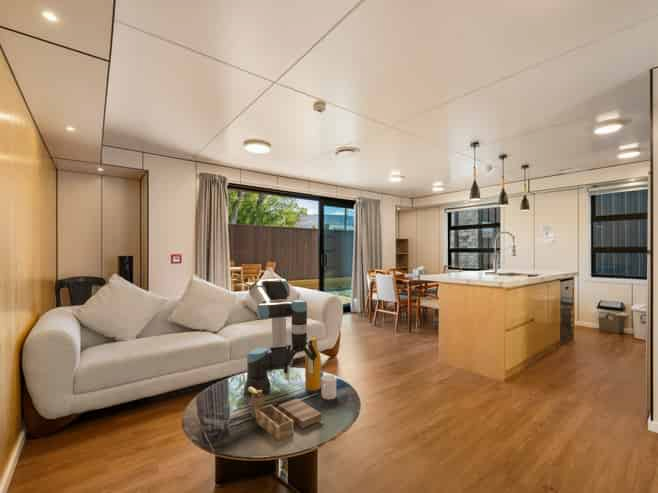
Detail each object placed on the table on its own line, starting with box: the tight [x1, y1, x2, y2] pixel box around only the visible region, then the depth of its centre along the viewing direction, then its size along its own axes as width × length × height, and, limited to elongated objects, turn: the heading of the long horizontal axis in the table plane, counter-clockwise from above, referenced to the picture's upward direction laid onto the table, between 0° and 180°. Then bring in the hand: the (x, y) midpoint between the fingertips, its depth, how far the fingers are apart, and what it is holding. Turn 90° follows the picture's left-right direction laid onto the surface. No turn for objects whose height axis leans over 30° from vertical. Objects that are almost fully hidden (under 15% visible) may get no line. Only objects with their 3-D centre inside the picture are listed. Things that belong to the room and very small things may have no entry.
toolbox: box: [251, 390, 294, 442], centre depth 148 cm, size 28×8×11 cm, turn 39°
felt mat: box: [293, 420, 325, 434], centre depth 154 cm, size 24×12×1 cm, turn 39°
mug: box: [320, 374, 337, 401], centre depth 176 cm, size 12×8×10 cm
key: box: [248, 386, 262, 398], centre depth 160 cm, size 11×2×3 cm, turn 39°
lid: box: [278, 398, 323, 428], centre depth 154 cm, size 21×11×4 cm, turn 39°
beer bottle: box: [304, 337, 322, 392], centre depth 189 cm, size 9×9×29 cm
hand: (299, 376), depth 155 cm, fingers open, 13 cm apart
